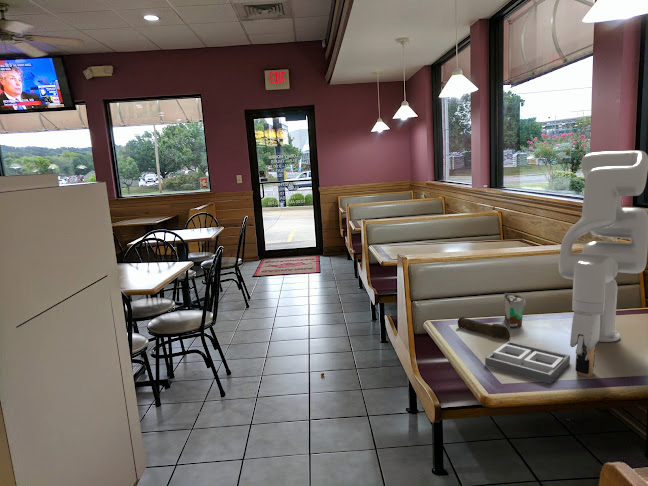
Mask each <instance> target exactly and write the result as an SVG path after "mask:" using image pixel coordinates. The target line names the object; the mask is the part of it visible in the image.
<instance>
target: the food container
mask: <svg viewBox="0 0 648 486" xmlns="http://www.w3.org/2000/svg"><path fill="white" fill-rule="evenodd" d="M526 305H527V302H526V299H525V297H524V296H523V295H520V294H518V293H512V292H504V321H505V323H506V324H507V328H508V329H519V328H520V327H522V325H523V317H524V307H525V306H526Z"/></svg>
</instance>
